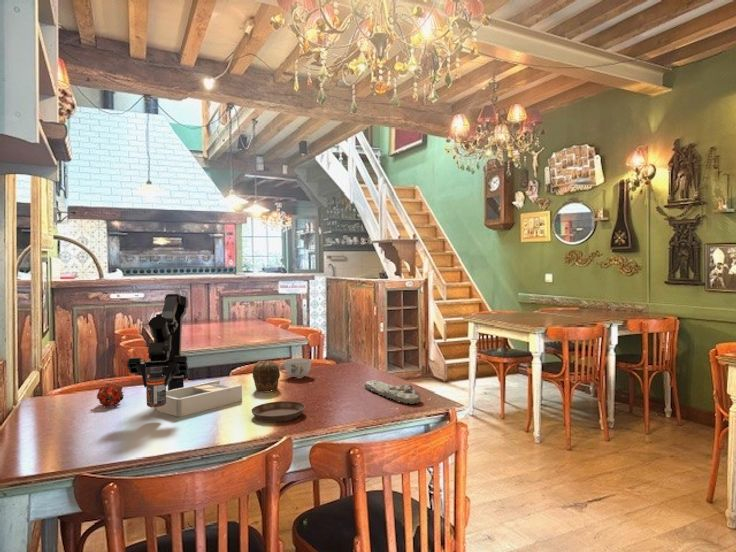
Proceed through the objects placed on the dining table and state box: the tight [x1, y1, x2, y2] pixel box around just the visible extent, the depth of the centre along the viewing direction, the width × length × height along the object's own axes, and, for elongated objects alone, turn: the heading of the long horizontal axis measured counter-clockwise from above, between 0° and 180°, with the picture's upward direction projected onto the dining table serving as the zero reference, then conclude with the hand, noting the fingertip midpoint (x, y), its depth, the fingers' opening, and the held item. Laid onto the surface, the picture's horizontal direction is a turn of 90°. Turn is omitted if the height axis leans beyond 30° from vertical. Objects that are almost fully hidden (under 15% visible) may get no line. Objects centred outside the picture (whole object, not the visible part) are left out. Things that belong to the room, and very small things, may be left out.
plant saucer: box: [250, 400, 306, 423], centre depth 167 cm, size 18×18×3 cm
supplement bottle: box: [145, 369, 167, 408], centre depth 164 cm, size 6×6×11 cm
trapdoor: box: [193, 383, 230, 392], centre depth 186 cm, size 12×9×3 cm
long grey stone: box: [364, 379, 421, 405], centre depth 193 cm, size 35×5×10 cm
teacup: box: [278, 357, 313, 378], centre depth 228 cm, size 15×12×8 cm
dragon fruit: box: [96, 382, 125, 408], centre depth 183 cm, size 8×8×12 cm
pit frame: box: [154, 379, 243, 418], centre depth 182 cm, size 15×26×6 cm, turn 142°
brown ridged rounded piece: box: [252, 360, 281, 392], centre depth 204 cm, size 11×11×12 cm
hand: (155, 386), depth 163 cm, fingers closed on supplement bottle, 6 cm apart
